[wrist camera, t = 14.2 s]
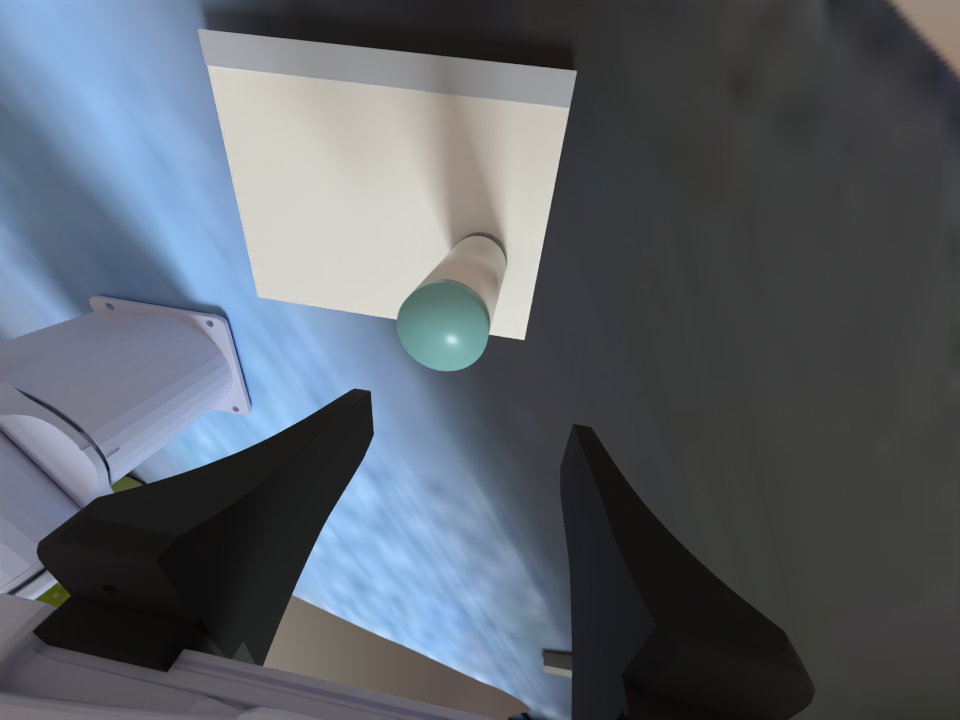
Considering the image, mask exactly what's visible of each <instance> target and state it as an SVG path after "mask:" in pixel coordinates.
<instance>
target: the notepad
mask: <svg viewBox="0 0 960 720" xmlns="http://www.w3.org/2000/svg"><path fill="white" fill-rule="evenodd" d="M198 33H199V37H200V42H201V46H202V51H203V55H204V60H205V64H206V65H207V66H208V70H209V75H210V79H211V84H212V89H213V93H214V98H215V102H216V107H217V112H218V116H219V121H220V125H221V130H222V134H223V139H224V144H225V148H226V153H227V157H228V162H229V167H230V171H231V176H232V180H233V185H234V189H235V194H236V199H237V203H238V208H239V212H240V217H241V222H242V226H243V231H244V235H245V240H246V244H247V249H248V254H249V258H250V263H251V267H252V272H253V276H254V281H255V286H256V290H257V295H258V297H260V298H266V299H273V300H279V301H285V302H291V303H297V304H304V305H310V306H316V307H322V308H328V309H335V310H341V311H347V312H353V313H360V314H366V315H372V316H378V317H384V318H391V319H397V316H398V312H399V310H400V307H401V305H402V304H403V302H404V301H405V300H406V299H407V297H408V296H409V295H410V294H411V293H412V292H413V291H414V290H415V289H416V288H417V287H418V286H419V285H420V283H421V282H422V281H423V280H424V279H425V278H426V277H427V276H428V275H429V274H430V273H431V272H432V271H433V270H434V268H435V267H436V266H437V265H438V264H439V263H440V262H441V261H442V260H443V259H444V258H445V257H446V256H447V254H448V253H449V252H450V251H451V250H452V249H453V248H454V247H455V246H456V245H457V244H458V243H459V242H460V240H462V239H463V238H464V237H465V236H467V235H469V234H471V233H475V232H484V233H488V234H491V235H493V236H494V237H496V238H497V239H498V240H499V241H500V242H501V243H502V245H503V246H504V248H505V250H506V253H507V268H506V271H505V275H504V279H503V283H502V287H501V290H500V294H499V298H498V302H497V306H496V309H495V313H494V317H493V321H492V325H491V329H490V332H489V334H490V335H496V336H502V337H509V338H515V339H521V340H524V339H525V333H526V328H527V323H528V318H529V313H530V308H531V303H532V298H533V292H534V287H535V282H536V277H537V272H538V267H539V262H540V257H541V252H542V246H543V241H544V236H545V231H546V226H547V221H548V216H549V211H550V206H551V200H552V195H553V190H554V185H555V180H556V175H557V170H558V165H559V159H560V154H561V149H562V144H563V139H564V134H565V129H566V124H567V119H568V113H569V108H570V104H571V99H572V94H573V89H574V83H575V78H576V73H577V71H572V70H563V69H554V68H545V67H536V66H527V65H518V64H509V63H500V62H491V61H482V60H473V59H464V58H455V57H446V56H437V55H428V54H419V53H410V52H401V51H392V50H383V49H374V48H365V47H356V46H347V45H338V44H329V43H320V42H311V41H302V40H293V39H284V38H275V37H266V36H257V35H248V34H239V33H230V32H221V31H212V30H203V29H198Z"/></svg>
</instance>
